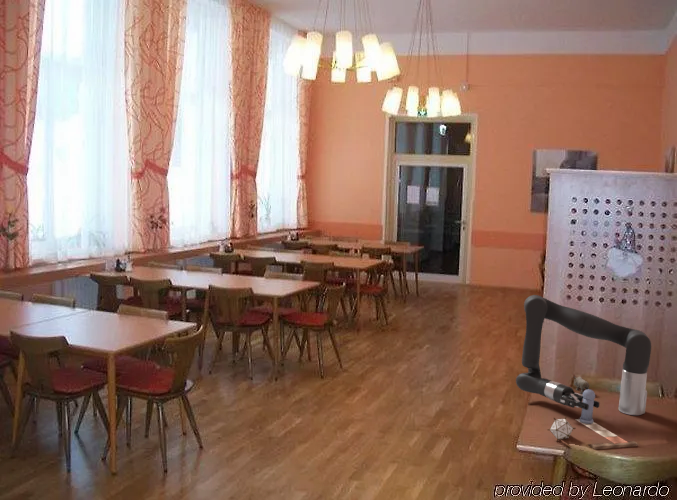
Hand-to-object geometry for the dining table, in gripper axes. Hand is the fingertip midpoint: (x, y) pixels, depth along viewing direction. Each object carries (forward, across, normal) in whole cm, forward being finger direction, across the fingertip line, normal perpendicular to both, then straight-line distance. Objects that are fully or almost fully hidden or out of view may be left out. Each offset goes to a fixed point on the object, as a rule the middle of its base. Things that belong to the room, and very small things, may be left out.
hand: (593, 406), depth 275 cm
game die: (+4, -22, +8) cm, 23 cm away
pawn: (-3, 0, +7) cm, 7 cm away
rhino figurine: (-33, +32, +8) cm, 47 cm away
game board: (+5, -5, +8) cm, 11 cm away
